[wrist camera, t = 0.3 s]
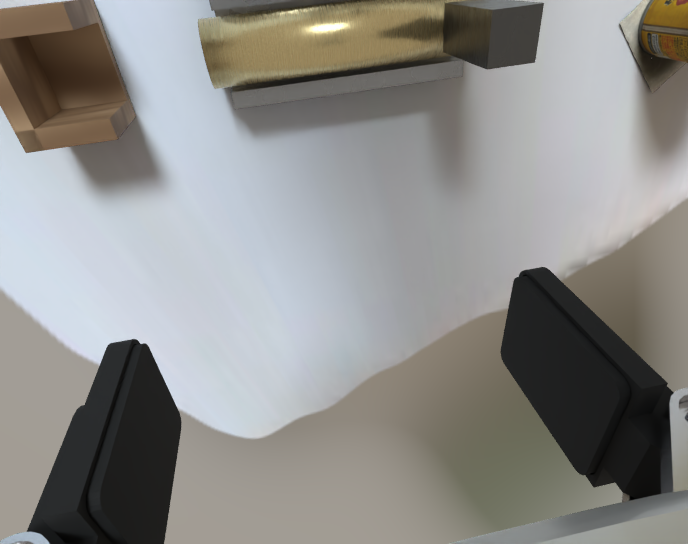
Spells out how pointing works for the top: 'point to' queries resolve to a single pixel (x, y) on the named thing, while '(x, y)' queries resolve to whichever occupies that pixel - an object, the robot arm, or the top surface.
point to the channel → (307, 87)
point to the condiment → (658, 38)
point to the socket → (60, 76)
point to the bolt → (366, 37)
